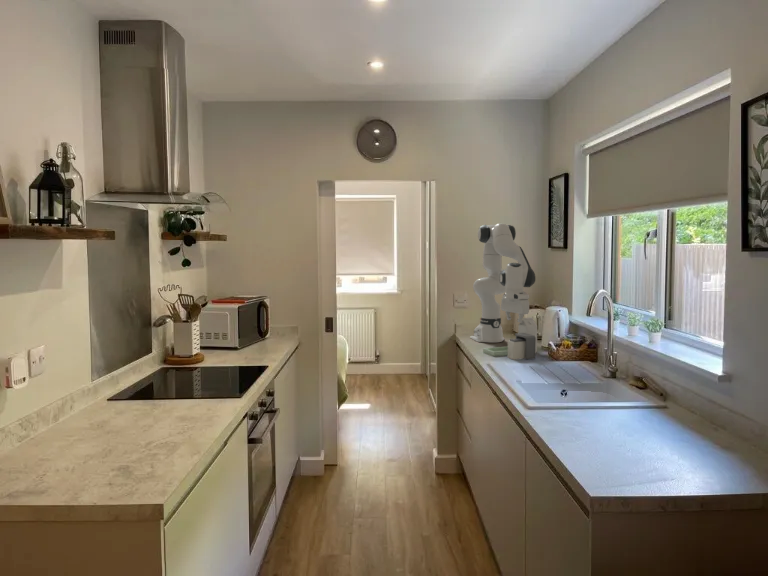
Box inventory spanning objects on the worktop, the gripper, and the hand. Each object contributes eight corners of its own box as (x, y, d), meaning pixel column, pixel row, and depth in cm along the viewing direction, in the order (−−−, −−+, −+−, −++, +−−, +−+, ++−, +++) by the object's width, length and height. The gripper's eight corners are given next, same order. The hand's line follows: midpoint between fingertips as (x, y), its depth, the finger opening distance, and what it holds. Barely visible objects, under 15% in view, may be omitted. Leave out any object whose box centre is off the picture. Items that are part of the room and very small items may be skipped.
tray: (483, 352, 301) (483, 348, 301) (507, 350, 307) (507, 346, 307) (494, 356, 291) (494, 352, 291) (519, 354, 297) (519, 349, 296)
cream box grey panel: (507, 357, 288) (507, 339, 287) (523, 356, 292) (523, 337, 291) (513, 359, 283) (513, 340, 283) (529, 357, 287) (529, 339, 286)
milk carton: (518, 351, 303) (518, 317, 302) (528, 350, 306) (528, 316, 305) (526, 353, 297) (527, 319, 295) (536, 352, 300) (537, 318, 298)
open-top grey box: (514, 355, 292) (515, 333, 291) (524, 354, 294) (524, 332, 293) (525, 359, 283) (525, 336, 282) (535, 358, 286) (535, 335, 285)
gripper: (498, 293, 292) (497, 319, 293) (521, 296, 273) (520, 324, 274) (508, 292, 294) (508, 318, 295) (531, 295, 275) (531, 323, 276)
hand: (514, 321), depth 285 cm, fingers open, 8 cm apart
